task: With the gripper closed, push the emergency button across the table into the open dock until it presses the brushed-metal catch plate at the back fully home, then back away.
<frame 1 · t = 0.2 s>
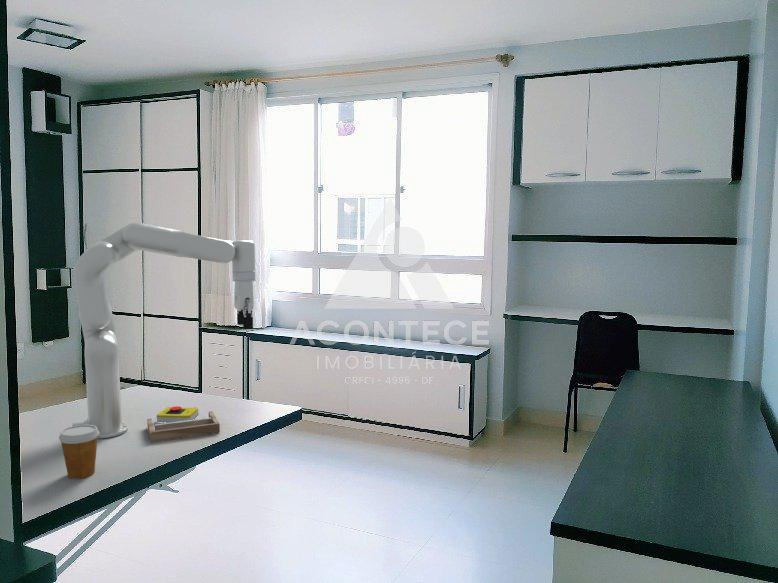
hand: (245, 326, 210), 31 cm above the table, tool pointing down, fingers open, 9 cm apart
dock: (182, 428, 198), on the table
catch plate: (183, 425, 195), point 2 cm above the table, slide at 0.0 cm
emergency button: (179, 421, 208), on the table
disposable coffee cup: (81, 474, 162), on the table
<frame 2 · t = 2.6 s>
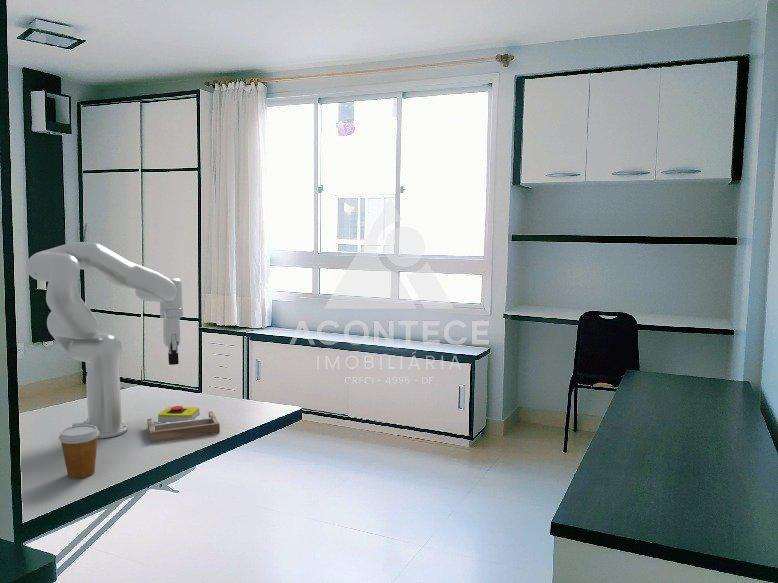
hand: (173, 363, 218), 16 cm above the table, tool pointing down, fingers closed
nothing on the table moved.
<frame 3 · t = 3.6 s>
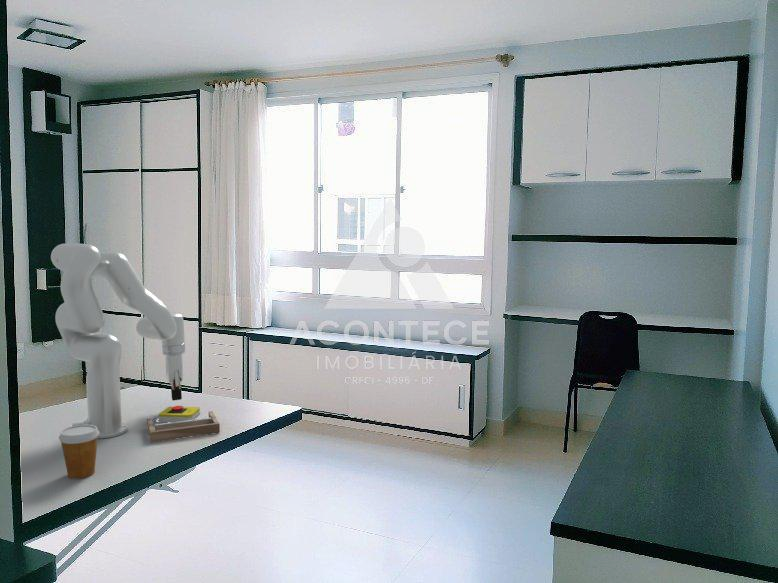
hand: (176, 399, 218), 4 cm above the table, tool pointing down, fingers closed
nothing on the table moved.
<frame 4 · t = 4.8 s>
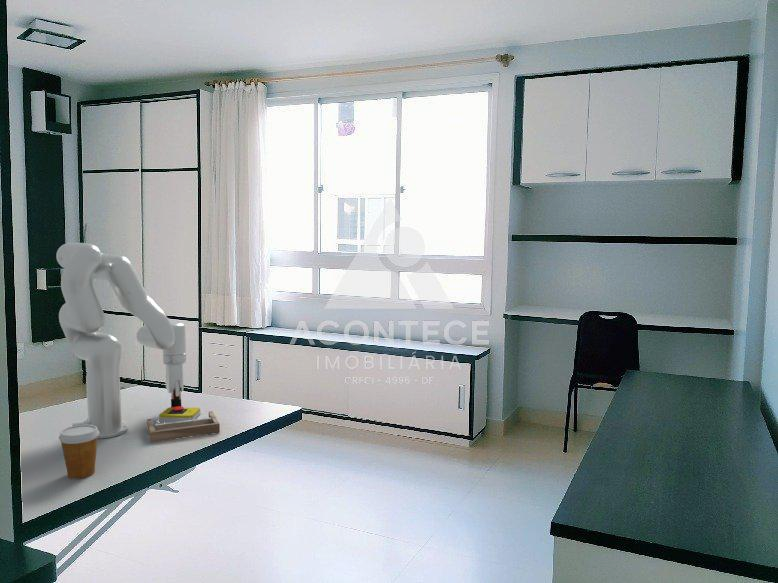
hand: (176, 410, 214), 1 cm above the table, tool pointing down, fingers closed
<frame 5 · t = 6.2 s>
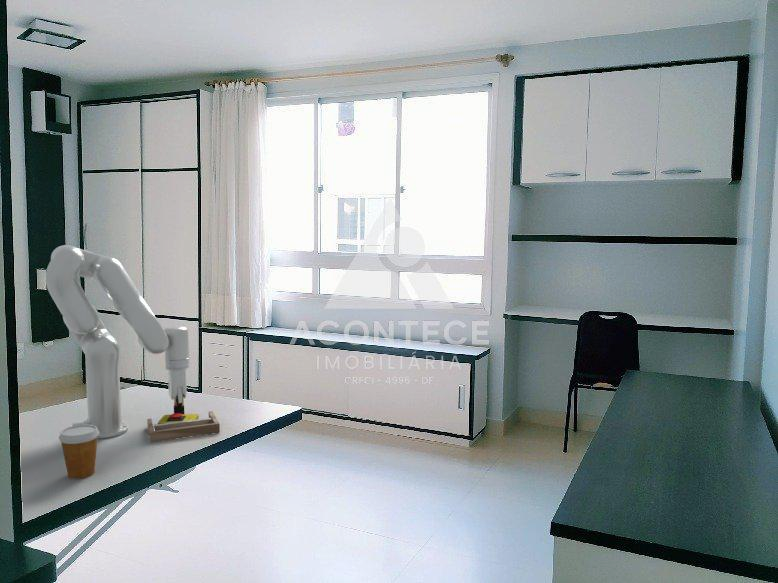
hand: (179, 416, 207), 1 cm above the table, tool pointing down, fingers closed
catch plate: (183, 426, 195), point 2 cm above the table, slide at 0.5 cm
emergency button: (179, 428, 201), on the table
everything else where it was.
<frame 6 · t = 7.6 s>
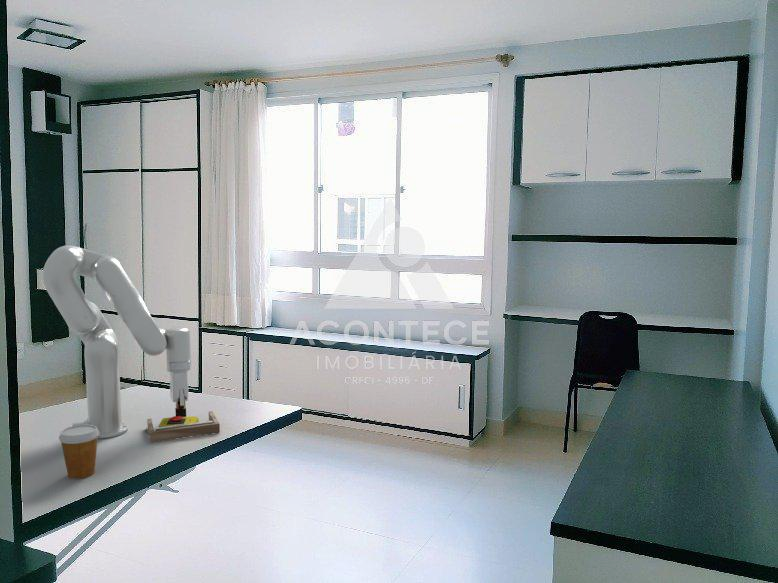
hand: (181, 419, 203), 1 cm above the table, tool pointing down, fingers closed
catch plate: (184, 429, 192), point 2 cm above the table, slide at 3.7 cm
emergency button: (180, 431, 198), on the table
everything else where it was.
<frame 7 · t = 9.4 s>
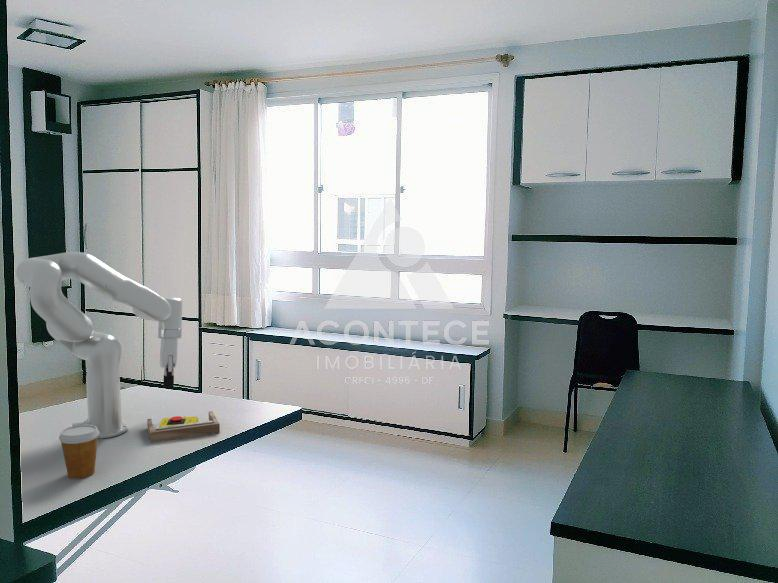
hand: (168, 386, 211), 10 cm above the table, tool pointing down, fingers closed
nothing on the table moved.
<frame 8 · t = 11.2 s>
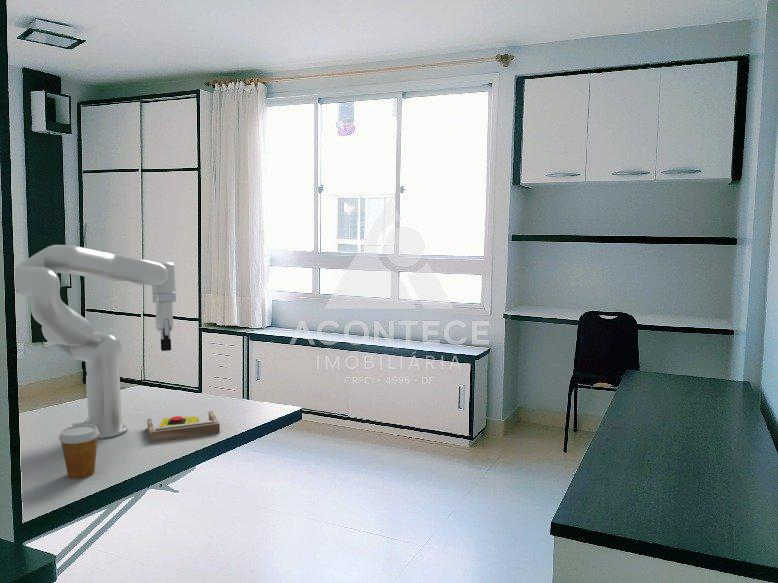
hand: (166, 350, 213), 22 cm above the table, tool pointing down, fingers closed
nothing on the table moved.
at the end: catch plate slide at 3.6 cm; emergency button 1.2 cm off-centre on the dock, point -0.7 cm above the dock's base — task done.
